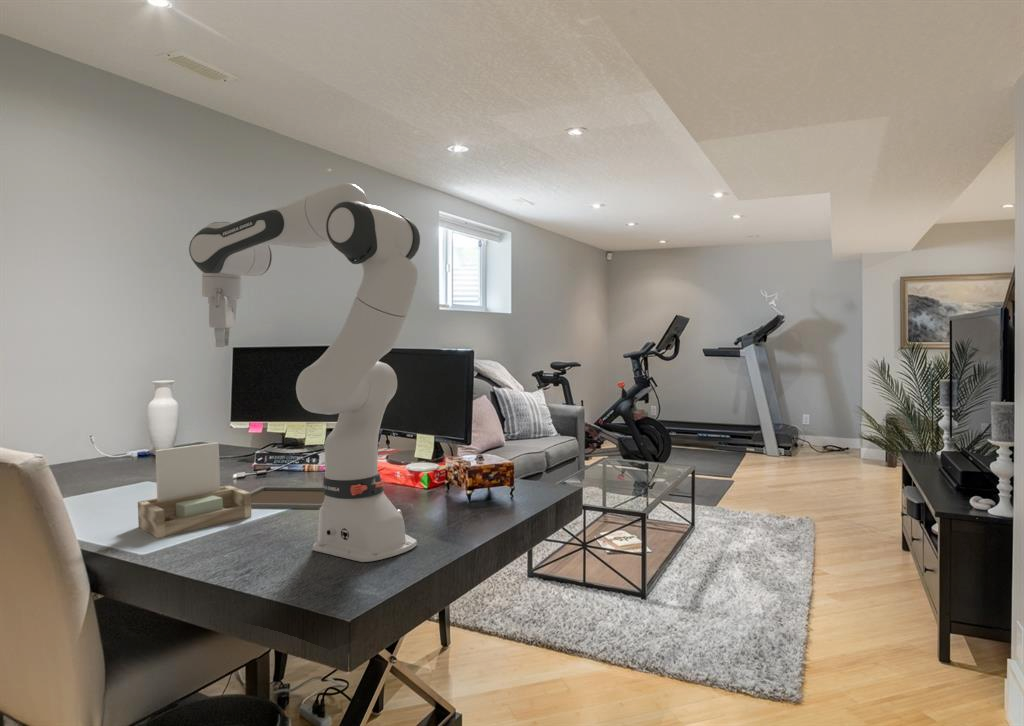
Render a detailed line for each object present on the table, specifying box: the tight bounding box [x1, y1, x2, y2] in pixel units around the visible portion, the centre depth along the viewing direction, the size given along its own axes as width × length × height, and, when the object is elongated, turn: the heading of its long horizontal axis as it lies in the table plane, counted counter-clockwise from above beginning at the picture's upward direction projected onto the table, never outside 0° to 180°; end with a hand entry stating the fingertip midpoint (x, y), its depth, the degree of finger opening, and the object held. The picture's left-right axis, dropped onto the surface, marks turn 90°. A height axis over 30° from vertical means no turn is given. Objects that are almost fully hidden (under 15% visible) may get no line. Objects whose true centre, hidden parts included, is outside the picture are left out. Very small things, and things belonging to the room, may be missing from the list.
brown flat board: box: [249, 485, 325, 510], centre depth 169 cm, size 19×2×30 cm
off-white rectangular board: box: [155, 441, 221, 502], centre depth 150 cm, size 2×14×18 cm, turn 138°
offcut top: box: [176, 495, 223, 518], centre depth 147 cm, size 4×9×3 cm, turn 143°
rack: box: [137, 484, 252, 539], centre depth 148 cm, size 13×21×6 cm, turn 138°
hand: (222, 346), depth 151 cm, fingers open, 8 cm apart
